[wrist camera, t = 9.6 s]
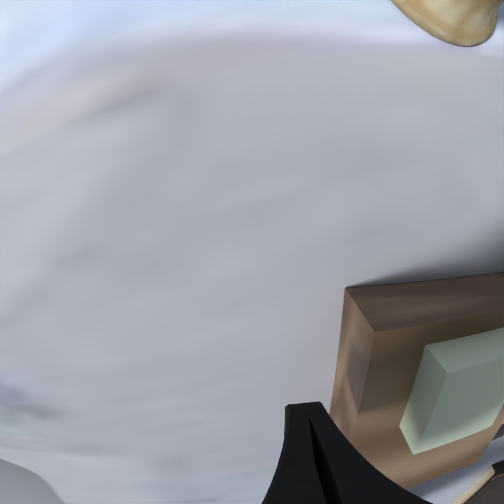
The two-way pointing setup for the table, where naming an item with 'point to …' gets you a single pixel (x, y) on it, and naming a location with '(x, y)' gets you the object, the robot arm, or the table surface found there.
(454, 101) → the table surface
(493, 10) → the hand bell
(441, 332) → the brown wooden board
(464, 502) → the hardcover book
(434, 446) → the sage green tile
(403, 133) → the table surface
